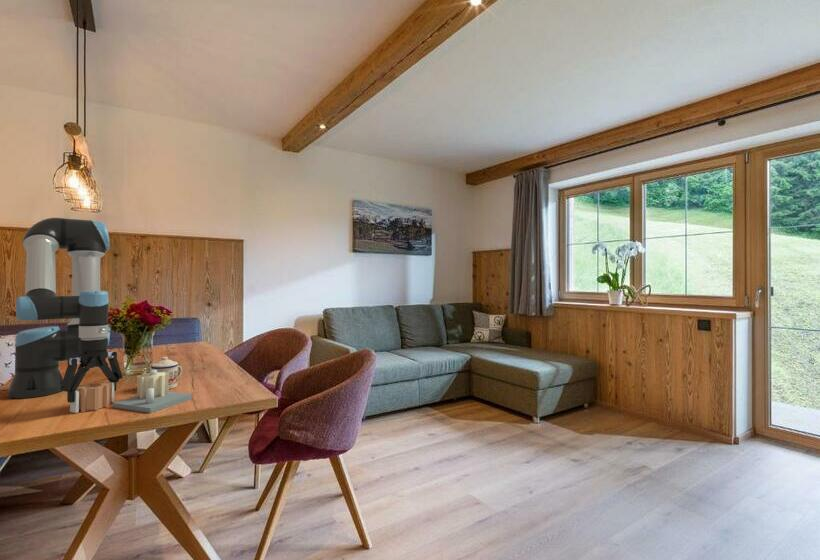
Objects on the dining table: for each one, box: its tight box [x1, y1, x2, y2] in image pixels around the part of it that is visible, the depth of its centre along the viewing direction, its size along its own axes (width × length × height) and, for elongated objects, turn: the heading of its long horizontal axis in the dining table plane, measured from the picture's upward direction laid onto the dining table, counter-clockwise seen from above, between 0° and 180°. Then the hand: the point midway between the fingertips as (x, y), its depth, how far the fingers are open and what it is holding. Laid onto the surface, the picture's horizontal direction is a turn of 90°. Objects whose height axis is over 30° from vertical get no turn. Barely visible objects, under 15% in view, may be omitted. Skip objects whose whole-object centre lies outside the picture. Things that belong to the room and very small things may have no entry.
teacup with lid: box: [150, 356, 183, 390], centre depth 155 cm, size 12×9×12 cm
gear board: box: [112, 369, 193, 414], centre depth 135 cm, size 16×16×10 cm
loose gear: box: [76, 381, 111, 413], centre depth 130 cm, size 9×9×7 cm
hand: (92, 406), depth 130 cm, fingers open, 10 cm apart
